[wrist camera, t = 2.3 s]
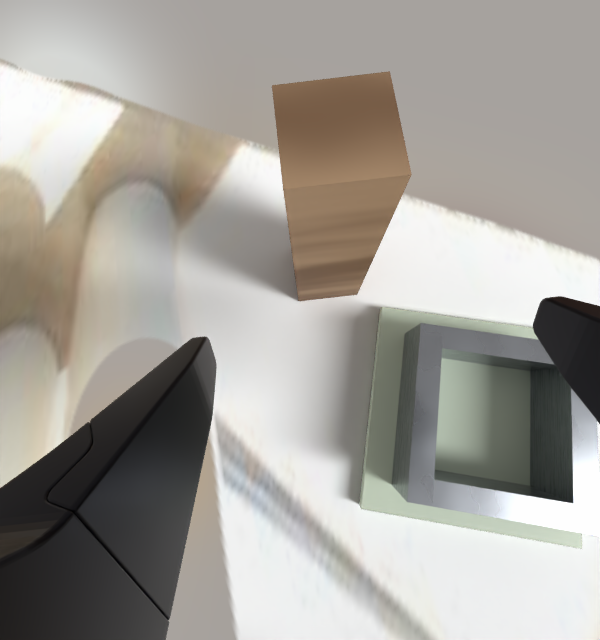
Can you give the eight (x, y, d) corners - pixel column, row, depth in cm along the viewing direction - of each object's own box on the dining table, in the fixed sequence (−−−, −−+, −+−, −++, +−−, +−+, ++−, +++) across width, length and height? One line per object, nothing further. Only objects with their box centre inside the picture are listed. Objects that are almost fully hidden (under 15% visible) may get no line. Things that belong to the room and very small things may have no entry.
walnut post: (357, 294, 22) (411, 174, 10) (298, 301, 22) (283, 189, 10) (348, 240, 23) (389, 71, 11) (292, 247, 23) (272, 85, 11)
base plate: (570, 542, 19) (582, 549, 18) (359, 504, 20) (361, 509, 19) (566, 336, 21) (576, 333, 21) (379, 309, 22) (382, 306, 21)
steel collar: (552, 512, 18) (601, 536, 15) (391, 484, 19) (407, 502, 16) (550, 354, 20) (594, 347, 17) (404, 333, 21) (421, 322, 18)
